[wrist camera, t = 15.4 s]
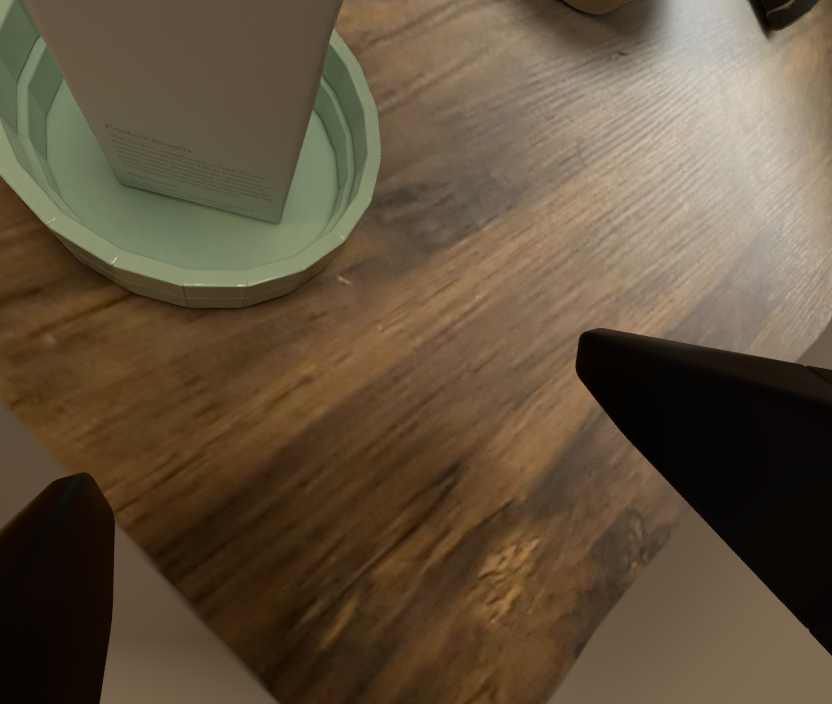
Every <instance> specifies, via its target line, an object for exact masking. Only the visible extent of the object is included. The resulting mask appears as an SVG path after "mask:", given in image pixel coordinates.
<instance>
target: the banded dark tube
mask: <svg viewBox="0 0 832 704" xmlns="http://www.w3.org/2000/svg"><path fill="white" fill-rule="evenodd" d="M820 1H821V0H762V2H763V4H764V7H765V9H766V11H767V14H766V17H767V20H768V22H769V24H770V26H771V27H772V29H773V30H775V31H778V30H782V29H784V28H786V27H788V26H790V25H792V24H793V23H795V22H797V21H798V20H800V19H801V18H802V17H804V16H805V15H807V14H808V13H809V12H810V11H812V10H813V9H814V8H815V7H816V6H817V5H818V3H819V2H820Z"/></svg>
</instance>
